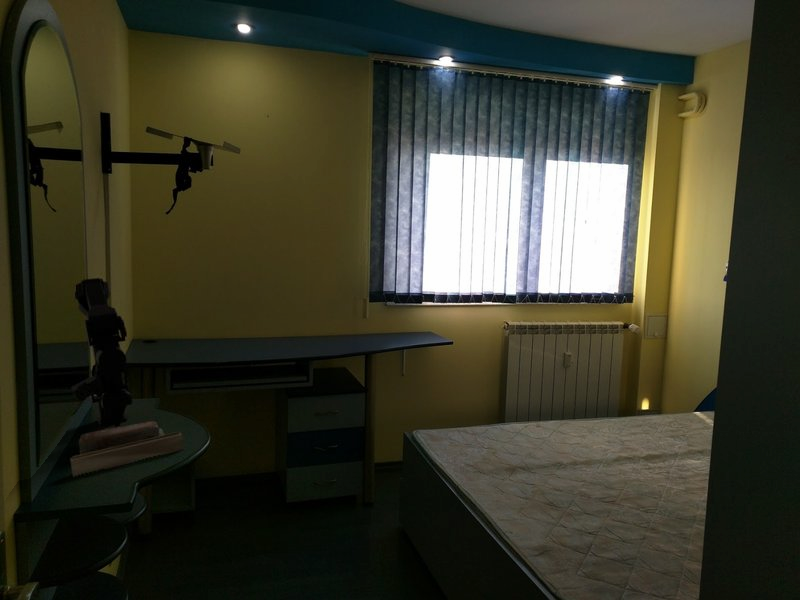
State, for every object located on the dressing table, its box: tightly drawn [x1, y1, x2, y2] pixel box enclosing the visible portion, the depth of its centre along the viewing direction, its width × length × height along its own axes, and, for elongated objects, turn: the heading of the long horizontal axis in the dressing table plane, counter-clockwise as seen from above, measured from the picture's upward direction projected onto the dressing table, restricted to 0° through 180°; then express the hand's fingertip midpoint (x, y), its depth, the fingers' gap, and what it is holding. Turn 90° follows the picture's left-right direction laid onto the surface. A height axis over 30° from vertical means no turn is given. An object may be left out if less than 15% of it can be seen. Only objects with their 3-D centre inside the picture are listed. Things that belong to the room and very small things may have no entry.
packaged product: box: [78, 421, 165, 455], centre depth 135 cm, size 18×5×10 cm
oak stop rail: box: [69, 431, 185, 478], centre depth 127 cm, size 2×22×4 cm, turn 122°
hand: (117, 426), depth 143 cm, fingers closed
